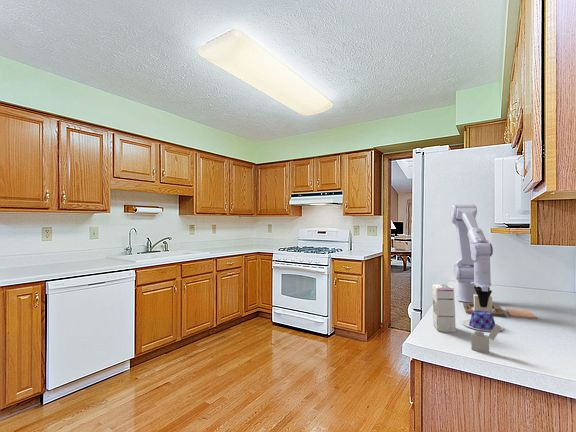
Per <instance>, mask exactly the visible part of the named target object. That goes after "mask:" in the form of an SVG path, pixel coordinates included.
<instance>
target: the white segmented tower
mask: <svg viewBox="0 0 576 432" xmlns="http://www.w3.org/2000/svg"><path fill="white" fill-rule="evenodd" d="M455 303H456V302H455V288H454V286H453V287H452V286H451V285H450V284H444V283H443V284H441V283H439V284H432V306H433V307H432V313H433V315H432V317H433V319H432V320H433V327H434V328H435V329H436V331H438V332H445V333H446V332H447V333H456V327H457V326H456V325H457V324H456V304H455Z"/></svg>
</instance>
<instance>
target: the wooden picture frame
mask: <svg viewBox="0 0 576 432" xmlns="http://www.w3.org/2000/svg"><path fill="white" fill-rule="evenodd" d="M462 306H463V309H464V311H465V314H467V313H468V314H470V315H472V312H473V311H474V309H473V310H472V307H473V308H474V303H473V302H462ZM492 310H494V311H492V312H490V313H492V315H493V317H496V318H497V317H499V318H500V317H501V318H506V317H507V314H506V313H505V312H504V310H503V309H502V308H501V307H500V305H497V304H492ZM468 314H467V315H468Z"/></svg>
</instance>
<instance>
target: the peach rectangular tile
mask: <svg viewBox="0 0 576 432" xmlns="http://www.w3.org/2000/svg"><path fill="white" fill-rule="evenodd" d="M504 309H505V311H506V312H507V313H508V315H509V316H510V317H514V318H523V319H535V320H538V316H536V315H535V314H534V313H533V312H532V311H531V310H529V309H521V308H519V309H517V308H509V307H508V308H507V307H506V308H504Z"/></svg>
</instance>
